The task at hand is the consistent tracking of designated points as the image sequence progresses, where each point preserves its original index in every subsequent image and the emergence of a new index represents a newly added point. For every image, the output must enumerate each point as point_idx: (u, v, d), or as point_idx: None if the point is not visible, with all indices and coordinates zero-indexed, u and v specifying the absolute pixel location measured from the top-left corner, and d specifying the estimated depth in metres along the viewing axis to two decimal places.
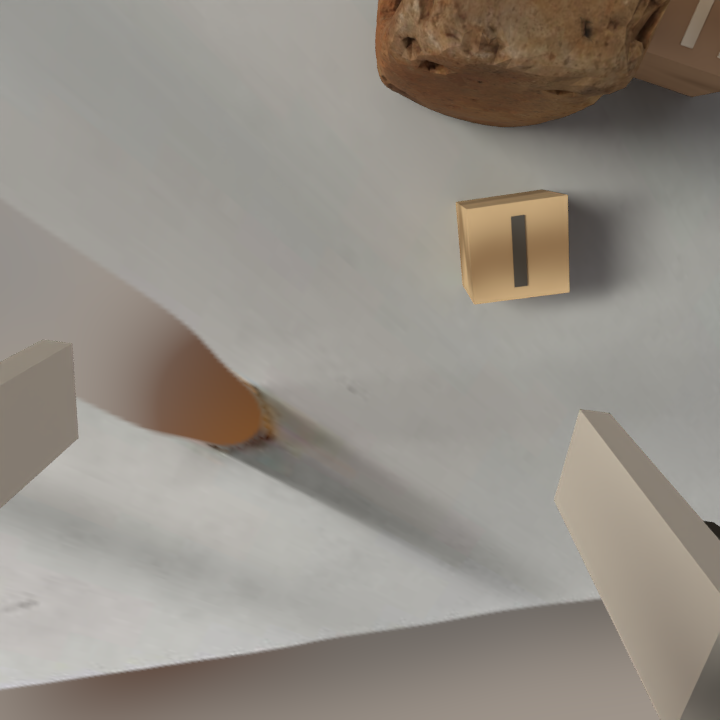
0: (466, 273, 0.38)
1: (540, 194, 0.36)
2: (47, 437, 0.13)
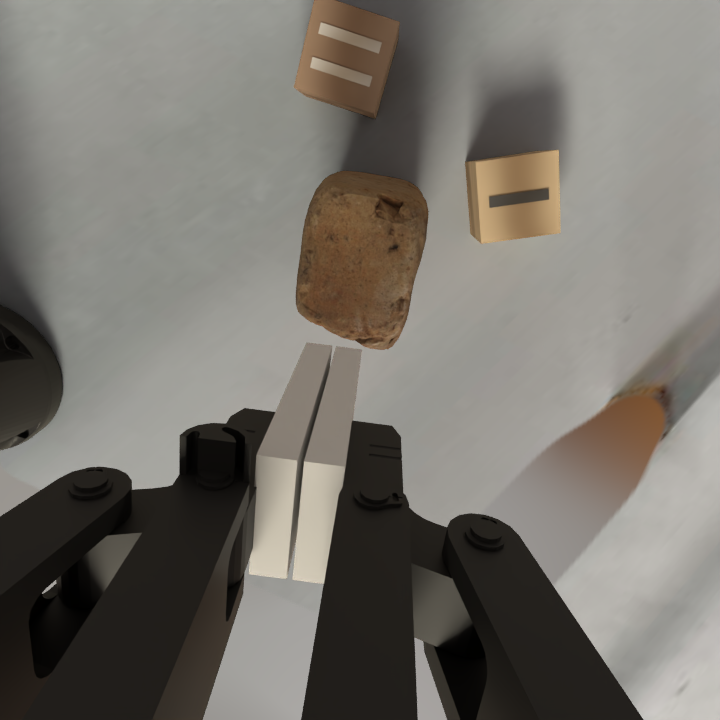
0: None
1: (471, 174, 0.44)
2: None
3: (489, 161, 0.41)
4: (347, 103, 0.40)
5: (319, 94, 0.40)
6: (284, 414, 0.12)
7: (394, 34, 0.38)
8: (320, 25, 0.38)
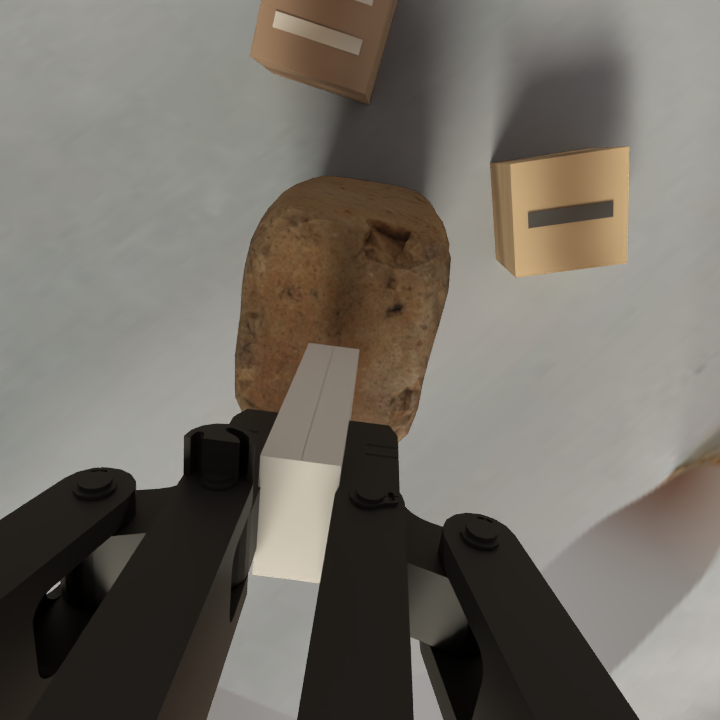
0: None
1: (501, 180, 0.31)
2: None
3: (529, 162, 0.29)
4: (327, 79, 0.28)
5: (286, 66, 0.28)
6: (287, 414, 0.12)
7: None
8: None
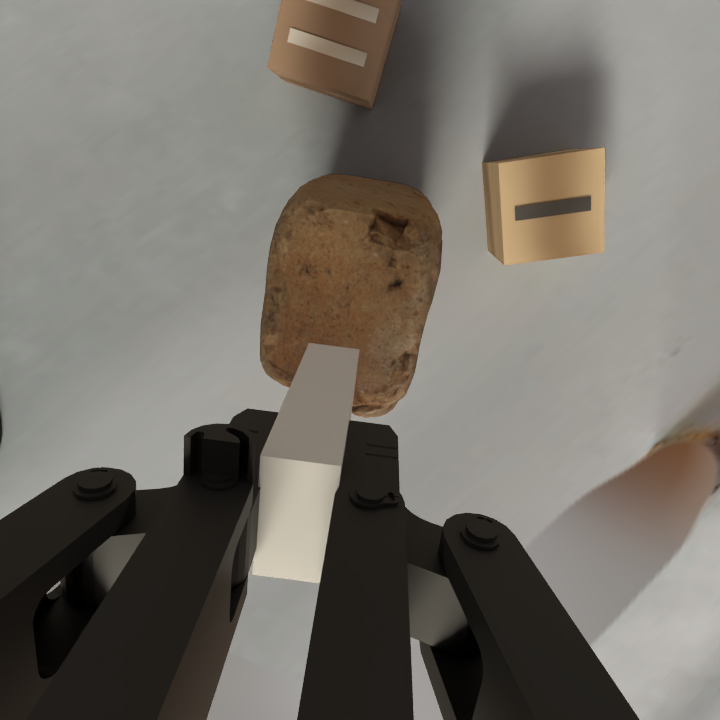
0: None
1: (491, 178, 0.35)
2: None
3: (516, 162, 0.32)
4: (335, 88, 0.31)
5: (299, 76, 0.31)
6: (287, 414, 0.12)
7: None
8: None
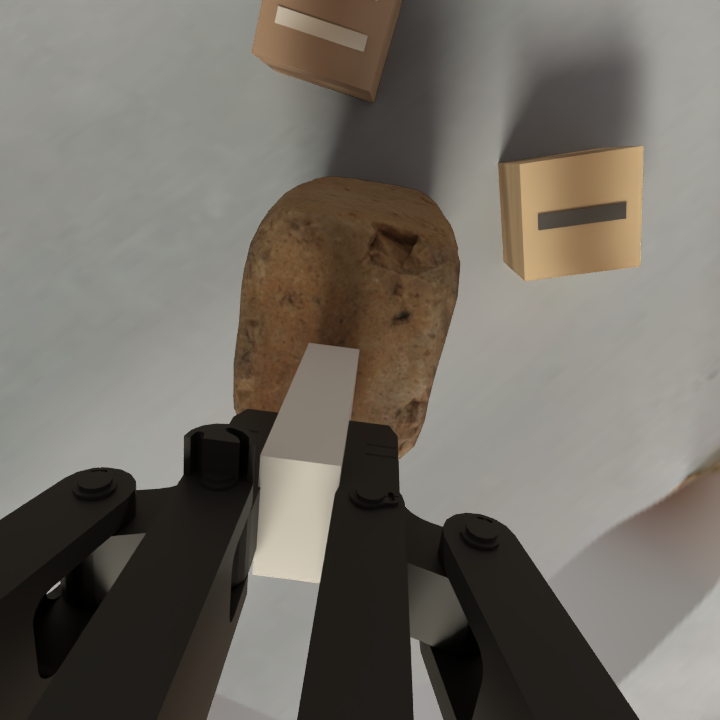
0: None
1: (510, 181, 0.31)
2: None
3: (540, 163, 0.28)
4: (331, 77, 0.27)
5: (289, 63, 0.27)
6: (287, 414, 0.12)
7: None
8: None
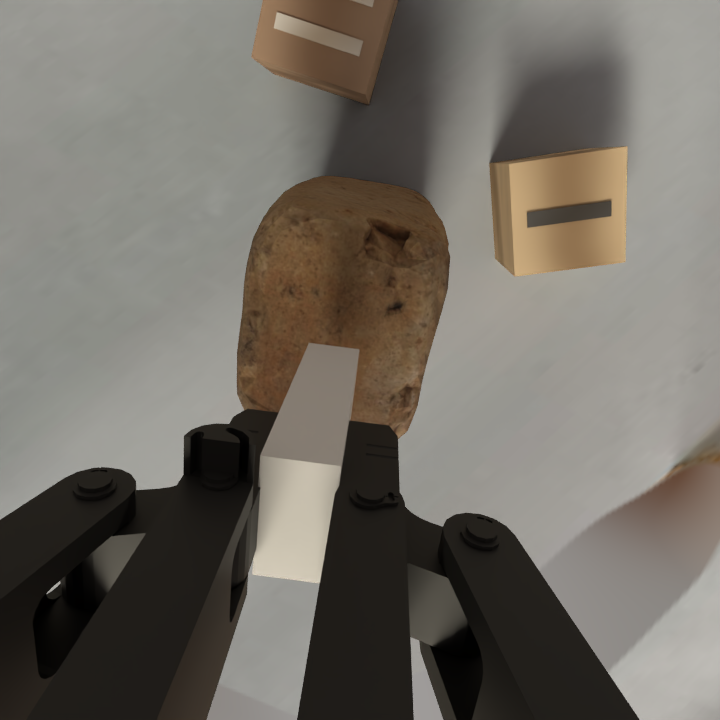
0: None
1: (500, 180, 0.32)
2: None
3: (528, 162, 0.29)
4: (328, 80, 0.28)
5: (288, 67, 0.28)
6: (287, 414, 0.12)
7: None
8: None
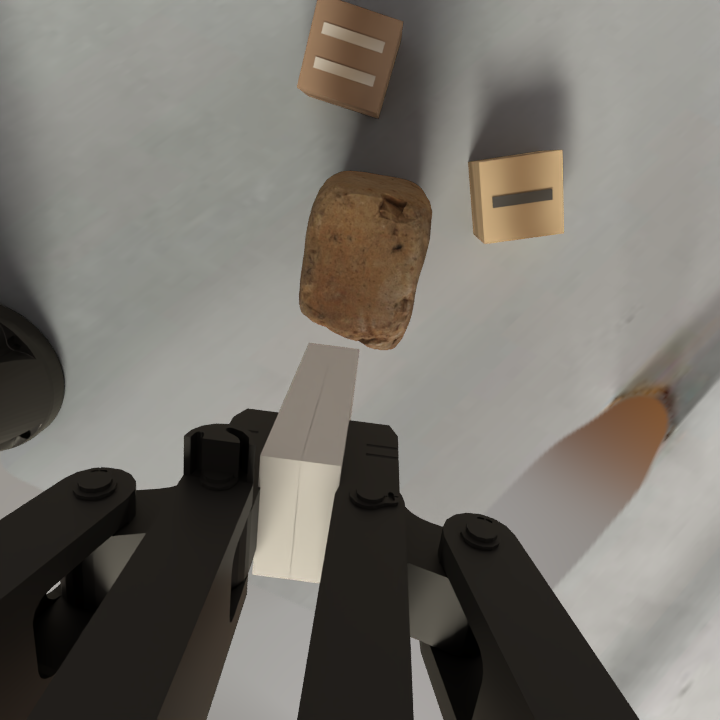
0: None
1: (474, 174, 0.43)
2: None
3: (492, 161, 0.41)
4: (350, 103, 0.40)
5: (322, 94, 0.40)
6: (287, 414, 0.12)
7: (397, 34, 0.38)
8: (323, 25, 0.38)
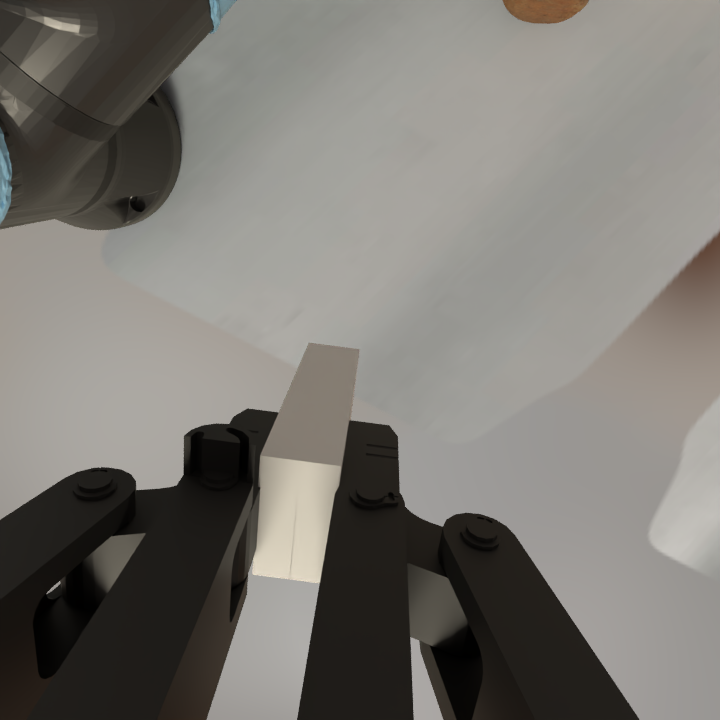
0: None
1: None
2: None
3: None
4: None
5: None
6: (287, 414, 0.12)
7: None
8: None
